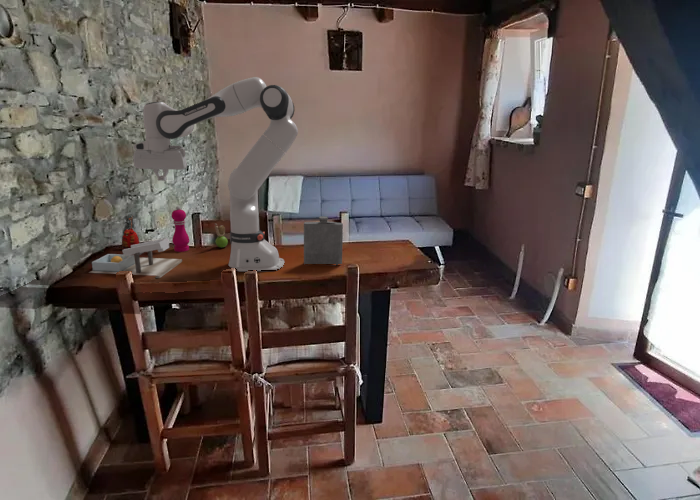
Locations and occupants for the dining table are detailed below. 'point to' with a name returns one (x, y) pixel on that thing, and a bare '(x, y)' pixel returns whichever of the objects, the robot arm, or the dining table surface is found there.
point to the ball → (116, 259)
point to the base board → (149, 266)
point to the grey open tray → (112, 263)
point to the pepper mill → (180, 231)
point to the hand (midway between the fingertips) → (162, 180)
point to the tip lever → (147, 247)
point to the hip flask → (323, 242)
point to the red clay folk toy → (129, 237)
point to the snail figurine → (221, 236)
